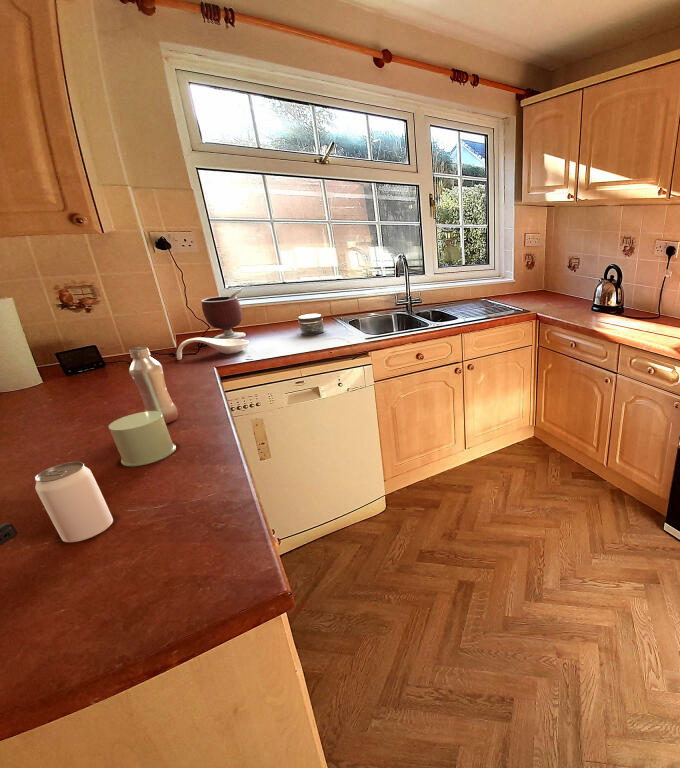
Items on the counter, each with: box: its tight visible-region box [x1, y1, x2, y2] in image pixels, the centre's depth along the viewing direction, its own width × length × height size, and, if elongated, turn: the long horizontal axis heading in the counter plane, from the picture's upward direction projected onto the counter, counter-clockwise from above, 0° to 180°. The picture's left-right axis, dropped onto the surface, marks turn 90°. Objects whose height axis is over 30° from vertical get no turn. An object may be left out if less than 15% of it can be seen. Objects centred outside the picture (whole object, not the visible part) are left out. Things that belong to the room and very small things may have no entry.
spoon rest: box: [176, 337, 250, 361], centre depth 163 cm, size 24×12×7 cm, turn 123°
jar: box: [297, 313, 325, 336], centre depth 192 cm, size 10×10×8 cm
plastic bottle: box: [128, 346, 179, 425], centre depth 106 cm, size 6×7×20 cm
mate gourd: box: [201, 290, 247, 339], centre depth 184 cm, size 16×14×20 cm
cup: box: [108, 411, 177, 467], centre depth 93 cm, size 10×10×9 cm
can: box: [34, 461, 114, 543], centre depth 70 cm, size 6×6×12 cm
